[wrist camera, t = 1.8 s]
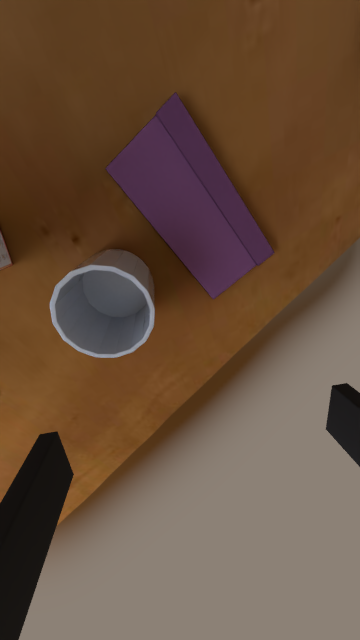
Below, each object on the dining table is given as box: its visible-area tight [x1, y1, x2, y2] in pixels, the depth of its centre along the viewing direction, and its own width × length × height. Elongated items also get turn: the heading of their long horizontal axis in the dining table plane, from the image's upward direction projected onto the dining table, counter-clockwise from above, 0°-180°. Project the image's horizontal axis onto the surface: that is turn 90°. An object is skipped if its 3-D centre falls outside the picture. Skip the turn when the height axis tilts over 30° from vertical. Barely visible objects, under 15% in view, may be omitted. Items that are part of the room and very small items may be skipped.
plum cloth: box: [105, 92, 274, 299], centre depth 28 cm, size 10×20×1 cm, turn 40°
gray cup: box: [50, 249, 155, 358], centre depth 27 cm, size 10×10×10 cm
